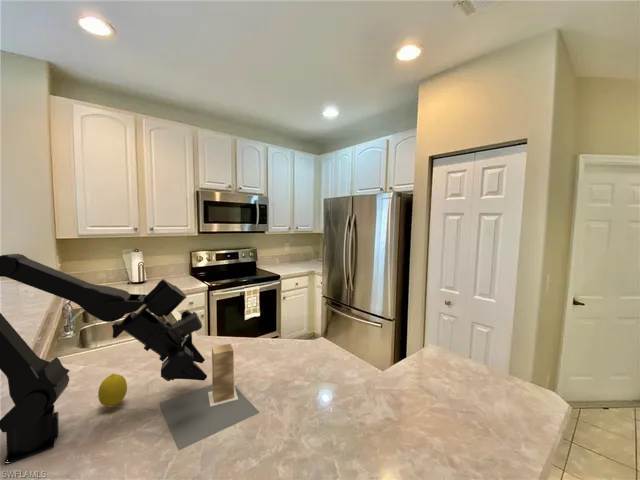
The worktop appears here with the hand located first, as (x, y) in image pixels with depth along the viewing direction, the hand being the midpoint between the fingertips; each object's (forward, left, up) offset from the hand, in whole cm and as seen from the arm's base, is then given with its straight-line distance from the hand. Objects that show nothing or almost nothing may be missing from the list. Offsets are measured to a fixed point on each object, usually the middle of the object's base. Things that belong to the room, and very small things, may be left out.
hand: (204, 369), depth 67 cm
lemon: (-17, +13, -8) cm, 23 cm away
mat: (0, -3, -8) cm, 9 cm away
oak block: (+4, -1, -8) cm, 9 cm away
